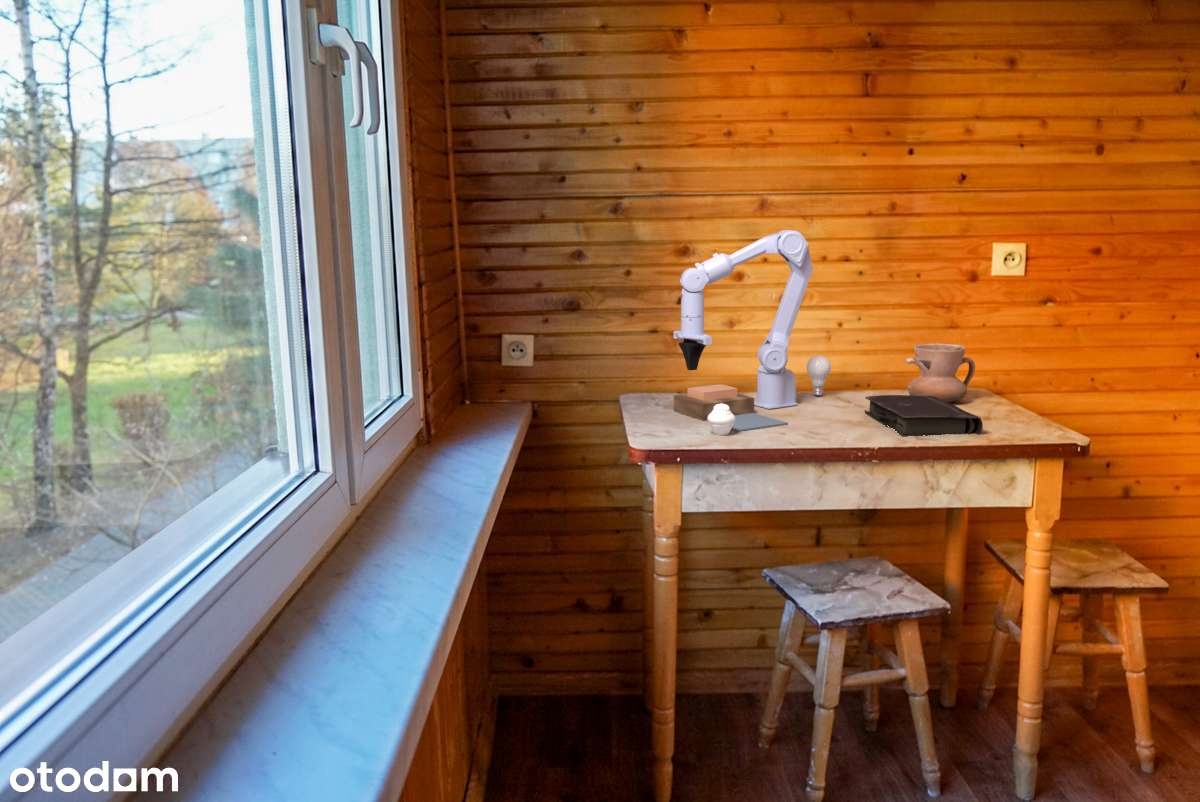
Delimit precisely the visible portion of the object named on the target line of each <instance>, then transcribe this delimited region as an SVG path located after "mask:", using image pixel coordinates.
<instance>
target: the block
mask: <svg viewBox="0 0 1200 802" xmlns="http://www.w3.org/2000/svg"><path fill="white" fill-rule="evenodd" d="M738 390H739V388H738V387H733V386H730V385H729V386H728V385H726V384H722V383H721V384H711V385H702V386H695V387H687V394H688V396H689V397H693V398H696V399H700V400H703V401H705V400H713V399H721V398H729V397H737V393H738Z"/></svg>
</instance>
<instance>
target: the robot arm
mask: <svg viewBox="0 0 1200 802" xmlns="http://www.w3.org/2000/svg"><path fill="white" fill-rule="evenodd" d="M809 247H810V246H809V243H808V241H807V240H806V238H805V237H804V235H803V234H802V233H800V232H799V231H797V230H794V229H793V230H790V229H783V230H781V231H779V232H777V233H771V234H769V235H766V236H764V237H762V238H760V239H757V240H756V241H753V242H752V243H749V244H748V245H746V246H744V247H742V248H740V249H738V250H737V251H735V252H733V253H731V254H726V253H724V252H721V253H718V252H716V253H713V254H712V257H710V258H709V259H707V260H704V261H703V262H701V263H699V262H696V263H695V264H694V266H695V267H689V268H687V269H685V270H684V271H683V272H682V273H681V277H680V279H679V282H680V285H681V286H682V290H681V298H680V303H681V304H680V313H681V314H680V330H674V331H673V339H675V340H682V342H678V346H679V348H680V349H681V351H682V354H683V357H684V361H685V365H686V369H687V371H697V370H698V366H699V362H700V359H701V356H702V354H703V351H704V350H705V348H706V346H709V345H713V337H712V336H711V335H708V334H706V333H705V297H704V288H705V286H706V285H709V286H710V285H712V284H714V283H716V282H718V281H720V280H722V279H724V278H726V277H728V276H731V275H732V274H733V272H734V270H735V267H737V266H739V265H741V264H744V263H746V262H748V261H750V260H754V258H757V257H759V256H761V255H764V254H771V255H772V254H773V255H778V254H779V256H781V257H782V258H783V259H784V260H785V262H786V264H787V266H788V268H789V269H790V274H789V276H788V277H789V278H788V279H787V283H786V286H785V289H784V292H783V295H782V297H781V300H780V302H779V304H778V305H779V306H778V308H777V311H776V314H775V318H774V320H773V324H772V325H771V326H772V327H771V330H770V331H769V333H768V334H767V335H766V338H765V339H764V340H765V341H764V343H763V344H761V346H760V347H758V350H757V356H756V357H757V360H758V361H759V363H760V365H759V367H758V368H757V378H756V379H757V381H756V382H757V383H756V384H757V385H756V387H757V388H756V389H757V390H756V399H757V400H754V406H757V407H760V408H764V409H767V410H768V409H769V410H770V409H771V410H772V409H777V408H786V407H791V406H792V407H793V406H794V407H795V406H798V405H799V403H798V402H796V399H797V398H796V397H797V396H796V395H797V378H796V376H795V373H794V372H793V371H792V370H791V369H787V367H786V366H787V364H788V360H789V359H788V349H789V345H790V337H791V333H792V330H793V328H794V324H795V322H796V319H797V317H798V314H799V311H800V308H801V305H802V302H803V299H804V297H805V293H806V291H807V288H808V284H809V282H810V279H811V276H812V273H813V269H814V268H813V262H812V258H811V254H810V248H809Z"/></svg>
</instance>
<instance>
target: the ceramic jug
mask: <svg viewBox="0 0 1200 802" xmlns="http://www.w3.org/2000/svg"><path fill="white" fill-rule="evenodd" d="M913 348H914V350H913V351H914V356H915V357H908V358H906V359H905V364H906V365H909V364H914V365H915V366H917V367H918V369H919V371H920V375H918V376H916V378H913V379H912V380H910V381H909V383H908V384H907V388H906V389H907V391H908V395H911V396H935V397H937V398H939V399H941V400H942V401H944V402H947V403H954V402H957V401H960V400H962V399H963V398H964V397H966V395H967V394H968V385H969V383H970V382H971V380H972V379H973V377H974V375H975V370H976V363H975V361H974V359H972V358H971V357H965V353H966V347H965V346H964V345H958V344H953V343H952V344H949V343H923V344H917V345H916V344H915V345H914V347H913ZM966 363H967V364H968V371H967V375H966V377H965V379H964V380H963V381H962V380H960V379H959V378H958V377H957V376H956V373H957V371H958V369H959V368H960V366H962V365H964V364H966Z"/></svg>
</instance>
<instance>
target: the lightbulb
mask: <svg viewBox="0 0 1200 802" xmlns="http://www.w3.org/2000/svg"><path fill="white" fill-rule="evenodd" d="M831 370H832V364H831V362H830V360H829V358H828V357H826V356H825V355H822V354H821V355H820V354H819V355H814V356H812V357H810V358H809V360H807V364H806V372H807V374H808V375H809V377H810V379H811V383H812V389H813V390H812V394H813V396H815V397H821V396H823V394H824V385H825V384H826V380H827V377H829V375H830V373H831Z"/></svg>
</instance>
